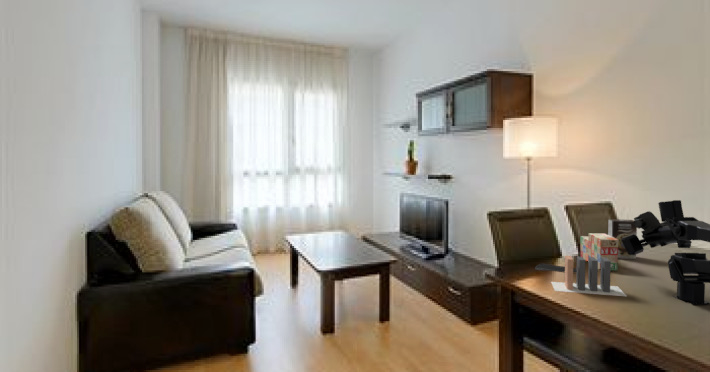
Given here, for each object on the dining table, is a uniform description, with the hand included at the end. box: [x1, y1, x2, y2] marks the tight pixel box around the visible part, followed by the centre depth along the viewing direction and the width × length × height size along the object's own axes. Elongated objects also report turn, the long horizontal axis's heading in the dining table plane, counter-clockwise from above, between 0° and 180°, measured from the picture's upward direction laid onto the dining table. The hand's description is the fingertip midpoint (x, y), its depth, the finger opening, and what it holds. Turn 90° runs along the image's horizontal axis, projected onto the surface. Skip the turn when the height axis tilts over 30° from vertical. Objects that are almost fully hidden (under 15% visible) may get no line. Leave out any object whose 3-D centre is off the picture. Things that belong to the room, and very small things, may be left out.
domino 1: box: [576, 255, 586, 291], centre depth 131 cm, size 2×5×10 cm, turn 161°
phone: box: [534, 263, 577, 275], centre depth 154 cm, size 8×1×15 cm
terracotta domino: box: [564, 255, 574, 290], centre depth 132 cm, size 2×5×10 cm, turn 161°
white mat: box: [550, 281, 627, 297], centre depth 130 cm, size 20×10×1 cm, turn 71°
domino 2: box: [587, 257, 599, 292], centre depth 130 cm, size 2×5×10 cm, turn 161°
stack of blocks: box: [579, 232, 619, 271], centre depth 163 cm, size 21×6×12 cm, turn 169°
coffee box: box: [607, 218, 638, 260], centre depth 171 cm, size 9×6×16 cm
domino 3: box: [599, 258, 611, 293], centre depth 128 cm, size 2×5×10 cm, turn 161°
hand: (631, 240), depth 142 cm, fingers open, 9 cm apart
